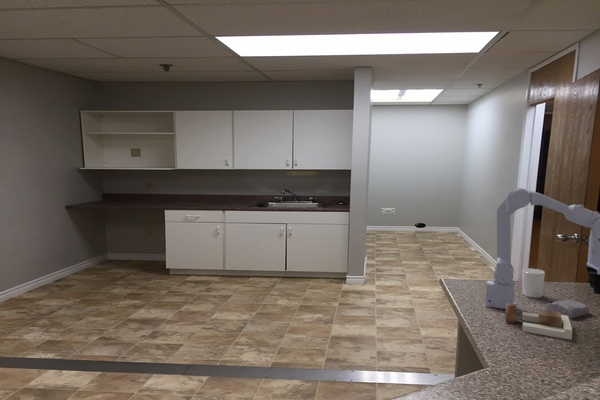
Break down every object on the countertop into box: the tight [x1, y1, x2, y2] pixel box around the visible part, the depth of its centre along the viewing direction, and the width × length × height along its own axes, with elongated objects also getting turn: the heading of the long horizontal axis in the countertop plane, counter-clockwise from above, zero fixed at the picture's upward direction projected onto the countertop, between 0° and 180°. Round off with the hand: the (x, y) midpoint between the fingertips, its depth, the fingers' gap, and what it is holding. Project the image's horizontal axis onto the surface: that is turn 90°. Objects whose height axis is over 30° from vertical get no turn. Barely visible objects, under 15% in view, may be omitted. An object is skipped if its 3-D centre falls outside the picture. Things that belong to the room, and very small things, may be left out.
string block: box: [505, 303, 562, 328], centre depth 131 cm, size 16×5×6 cm, turn 61°
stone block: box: [545, 299, 590, 320], centre depth 143 cm, size 12×5×10 cm
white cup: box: [521, 267, 546, 299], centre depth 161 cm, size 8×8×10 cm
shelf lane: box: [521, 311, 573, 341], centre depth 130 cm, size 13×13×3 cm
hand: (596, 290), depth 136 cm, fingers open, 7 cm apart
